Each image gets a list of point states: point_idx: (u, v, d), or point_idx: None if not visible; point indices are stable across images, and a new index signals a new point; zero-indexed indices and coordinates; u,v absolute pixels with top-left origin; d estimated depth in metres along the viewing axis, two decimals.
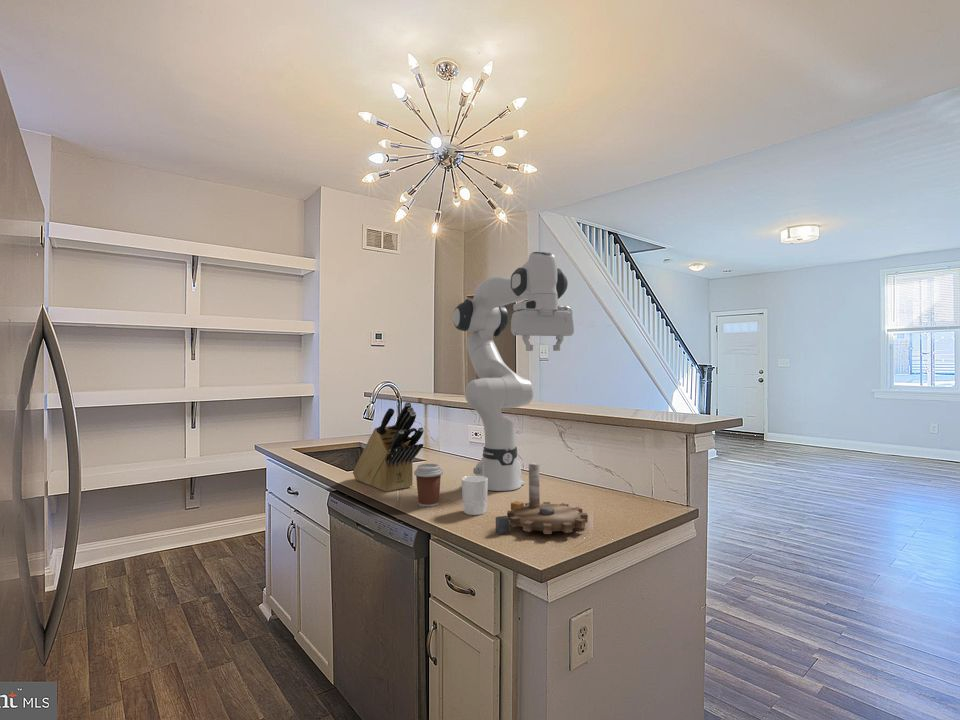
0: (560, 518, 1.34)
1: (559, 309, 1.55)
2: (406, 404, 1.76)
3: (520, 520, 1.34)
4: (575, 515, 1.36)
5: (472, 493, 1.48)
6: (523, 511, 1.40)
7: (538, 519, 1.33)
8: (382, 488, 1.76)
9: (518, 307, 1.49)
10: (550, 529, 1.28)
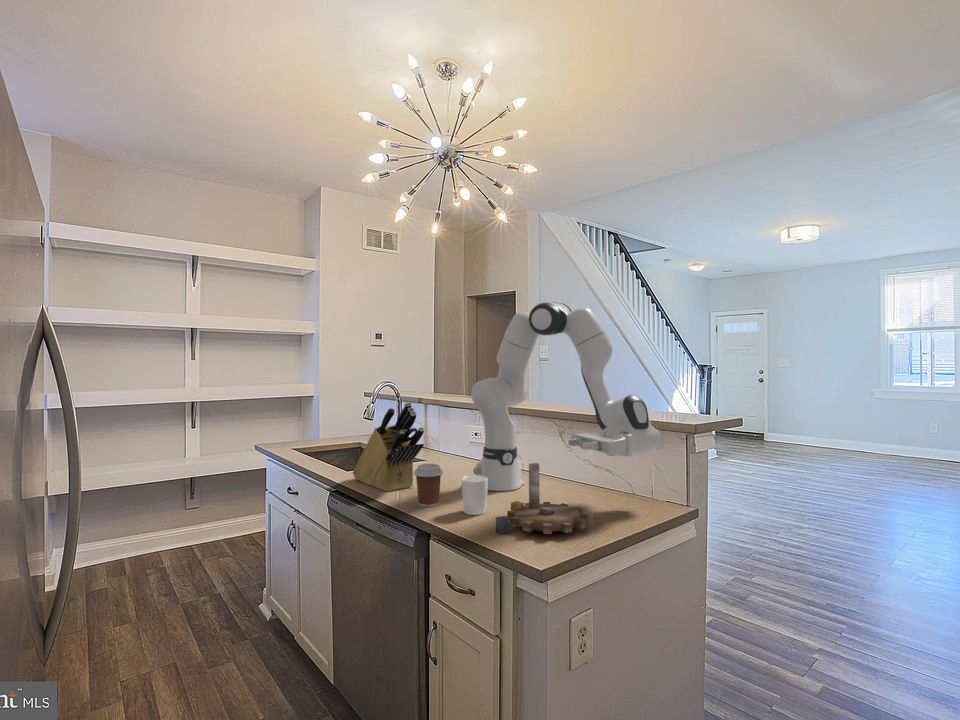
0: (560, 518, 1.34)
1: None
2: (406, 404, 1.77)
3: (520, 520, 1.34)
4: (575, 515, 1.36)
5: (472, 493, 1.48)
6: (523, 511, 1.40)
7: (538, 519, 1.33)
8: (382, 488, 1.76)
9: (629, 448, 1.47)
10: (550, 529, 1.28)
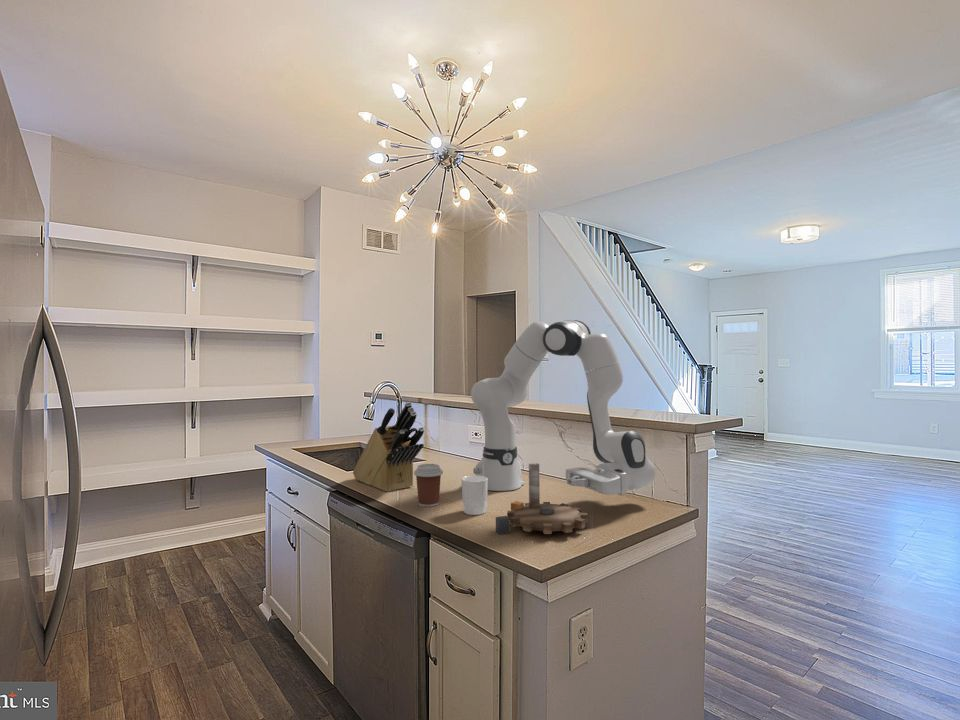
0: (560, 518, 1.34)
1: None
2: (406, 404, 1.77)
3: (520, 520, 1.34)
4: (575, 515, 1.36)
5: (472, 493, 1.48)
6: (523, 511, 1.40)
7: (538, 519, 1.33)
8: (382, 488, 1.76)
9: (623, 487, 1.47)
10: (550, 529, 1.28)
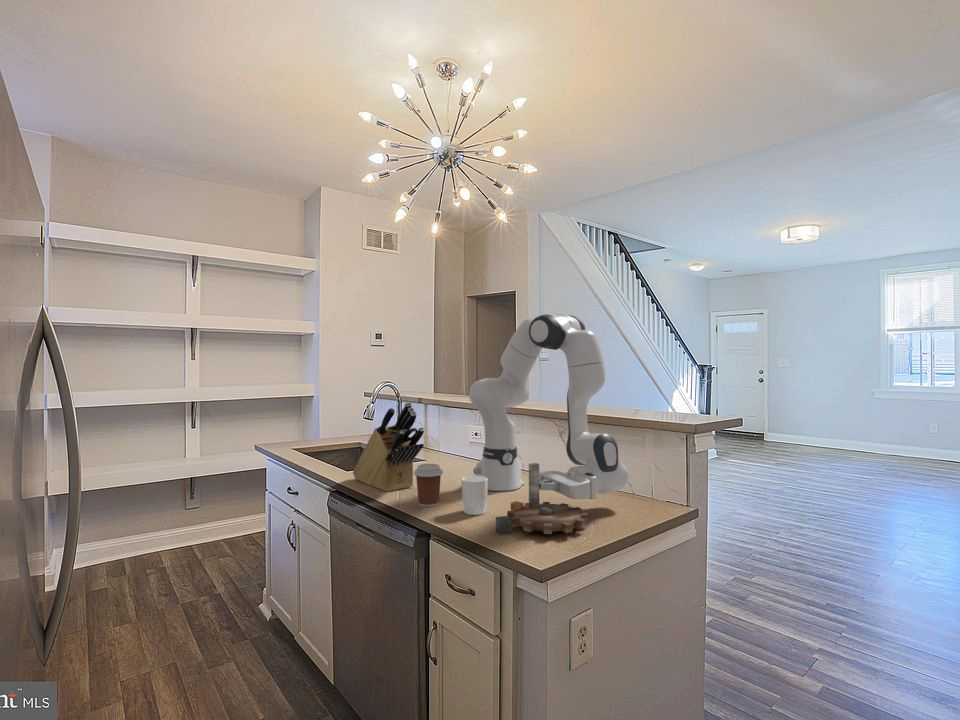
0: (560, 518, 1.34)
1: None
2: (406, 404, 1.77)
3: (520, 520, 1.34)
4: (575, 515, 1.36)
5: (472, 493, 1.48)
6: (523, 511, 1.40)
7: (538, 519, 1.33)
8: (382, 488, 1.76)
9: (593, 491, 1.43)
10: (550, 529, 1.28)
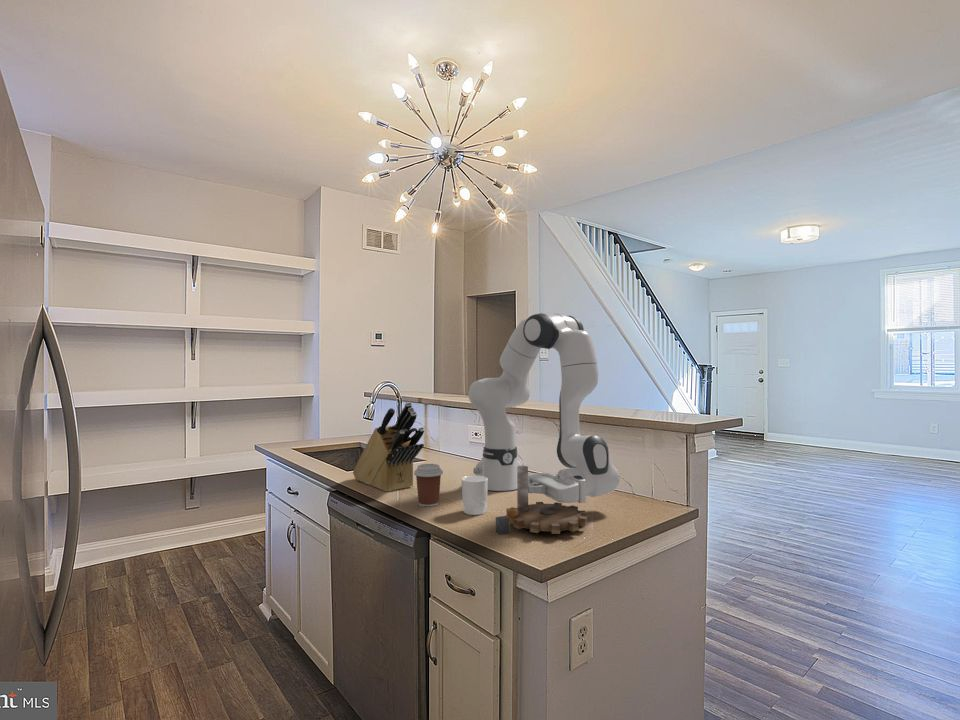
0: (567, 514, 1.37)
1: None
2: (407, 404, 1.77)
3: (541, 525, 1.30)
4: (571, 509, 1.41)
5: (472, 493, 1.48)
6: (528, 516, 1.35)
7: (554, 519, 1.33)
8: (383, 488, 1.76)
9: (582, 494, 1.39)
10: (577, 526, 1.30)
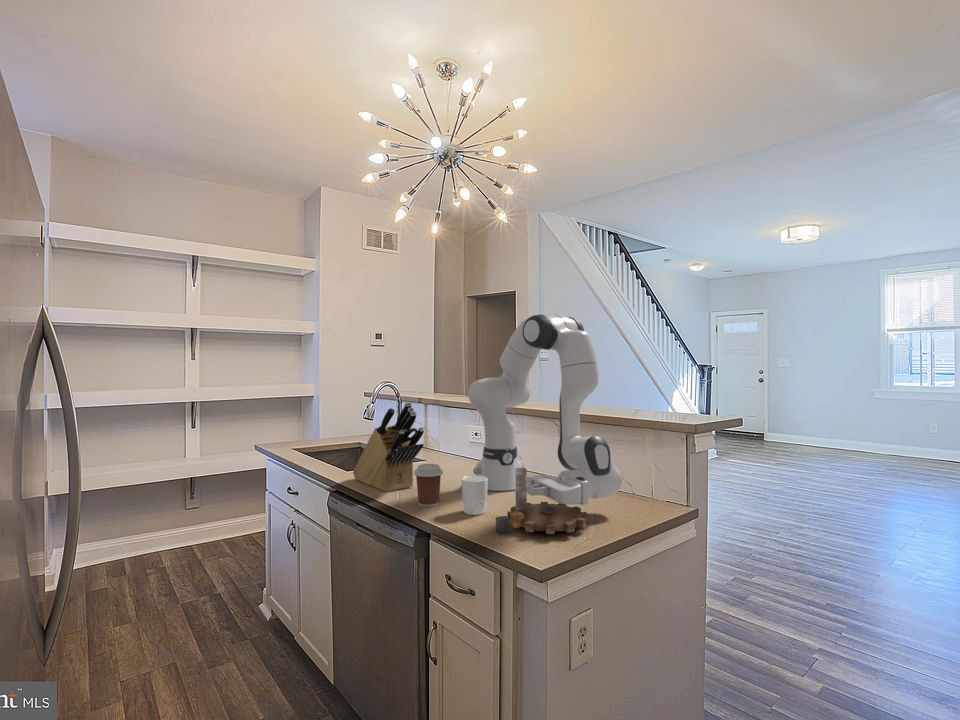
0: (567, 512, 1.39)
1: None
2: (406, 404, 1.76)
3: (555, 525, 1.30)
4: (564, 507, 1.44)
5: (472, 493, 1.48)
6: (535, 519, 1.33)
7: (562, 518, 1.34)
8: (382, 488, 1.76)
9: (585, 496, 1.37)
10: (585, 522, 1.33)
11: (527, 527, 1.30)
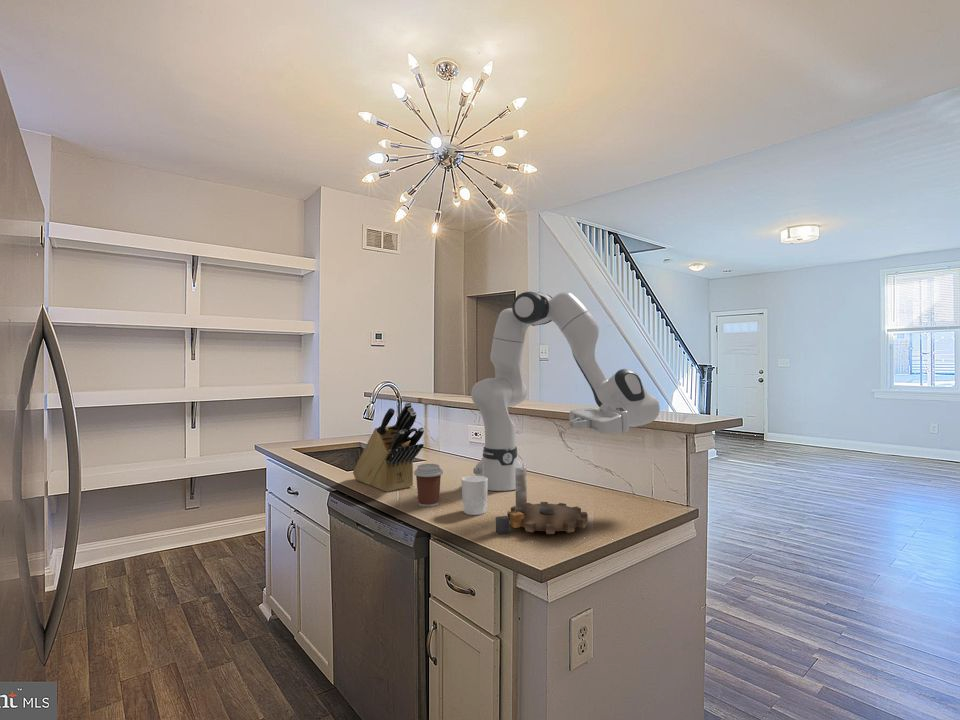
0: (567, 512, 1.39)
1: None
2: (406, 404, 1.76)
3: (555, 525, 1.30)
4: (564, 507, 1.44)
5: (472, 493, 1.48)
6: (535, 519, 1.33)
7: (562, 518, 1.34)
8: (382, 488, 1.76)
9: (625, 425, 1.46)
10: (585, 522, 1.33)
11: (527, 527, 1.30)
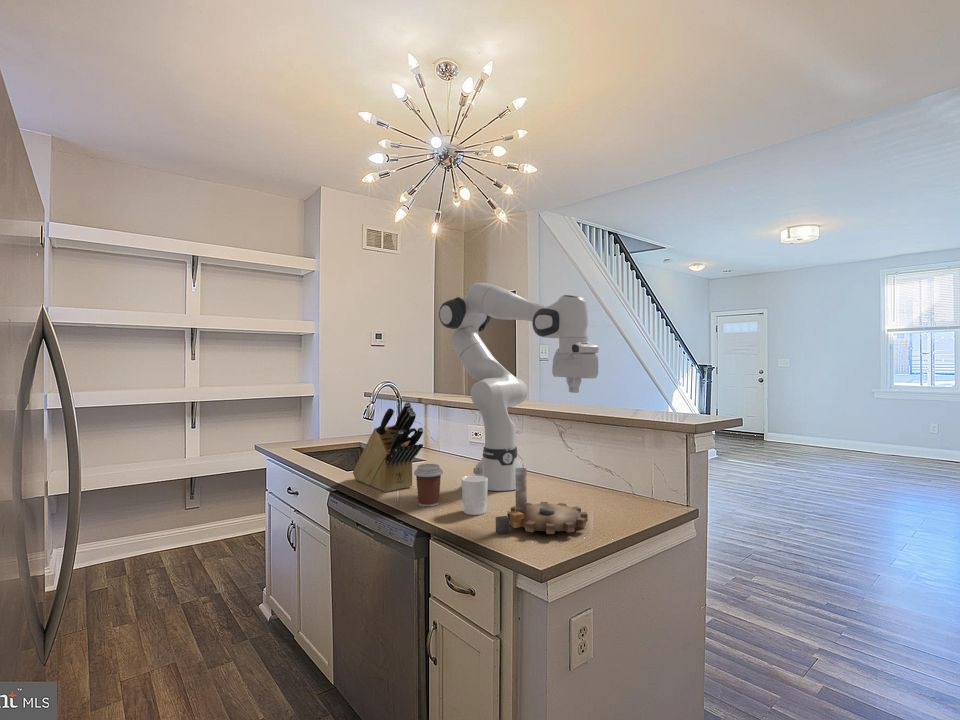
0: (567, 512, 1.39)
1: None
2: (406, 404, 1.76)
3: (555, 525, 1.30)
4: (564, 507, 1.44)
5: (472, 493, 1.48)
6: (535, 519, 1.33)
7: (562, 518, 1.34)
8: (382, 488, 1.76)
9: (592, 350, 1.49)
10: (585, 522, 1.33)
11: (527, 527, 1.30)
